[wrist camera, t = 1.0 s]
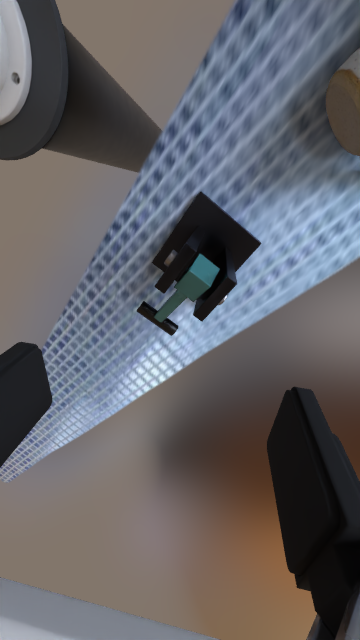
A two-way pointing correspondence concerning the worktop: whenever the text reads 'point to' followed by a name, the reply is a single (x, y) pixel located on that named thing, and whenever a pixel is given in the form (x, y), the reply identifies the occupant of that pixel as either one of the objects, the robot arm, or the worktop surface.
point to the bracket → (206, 251)
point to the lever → (182, 292)
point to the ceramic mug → (345, 104)
